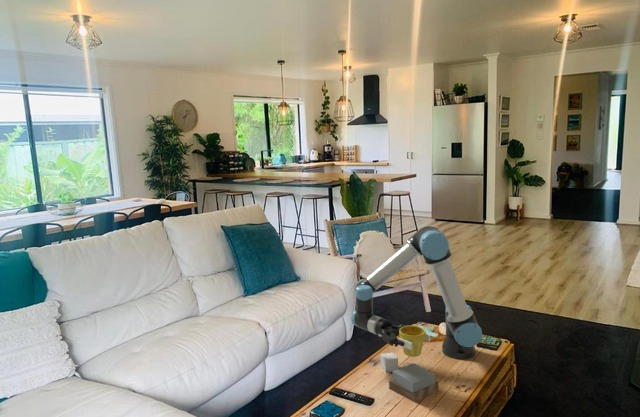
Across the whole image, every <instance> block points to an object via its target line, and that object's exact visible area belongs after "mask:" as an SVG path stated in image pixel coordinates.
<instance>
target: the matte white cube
mask: <svg viewBox="0 0 640 417" xmlns="http://www.w3.org/2000/svg"><path fill="white" fill-rule="evenodd" d="M380 368H381V369H382V370H383V371H384V372H385V373H392V371H394V370H397V369H399V357H397V355H396V354H395V353H394V352H387V353H381V354H380Z"/></svg>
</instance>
